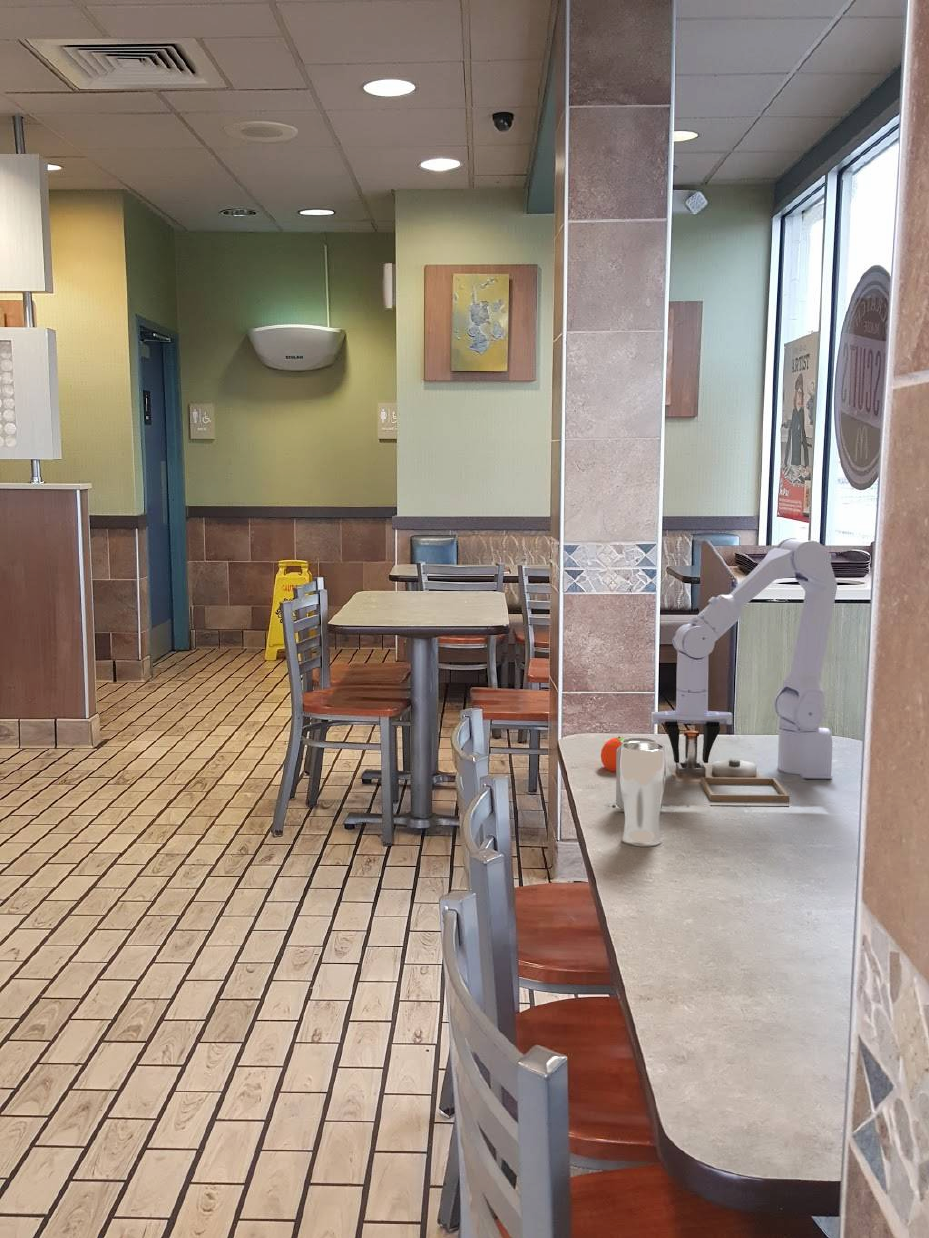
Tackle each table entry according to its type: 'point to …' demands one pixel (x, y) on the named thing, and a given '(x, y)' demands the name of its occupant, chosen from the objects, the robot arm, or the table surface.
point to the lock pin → (691, 748)
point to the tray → (744, 797)
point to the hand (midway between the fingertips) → (690, 761)
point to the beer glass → (642, 791)
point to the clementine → (610, 753)
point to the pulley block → (714, 770)
